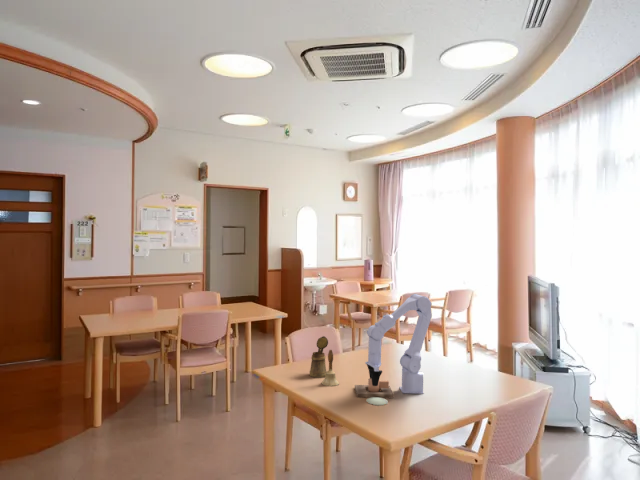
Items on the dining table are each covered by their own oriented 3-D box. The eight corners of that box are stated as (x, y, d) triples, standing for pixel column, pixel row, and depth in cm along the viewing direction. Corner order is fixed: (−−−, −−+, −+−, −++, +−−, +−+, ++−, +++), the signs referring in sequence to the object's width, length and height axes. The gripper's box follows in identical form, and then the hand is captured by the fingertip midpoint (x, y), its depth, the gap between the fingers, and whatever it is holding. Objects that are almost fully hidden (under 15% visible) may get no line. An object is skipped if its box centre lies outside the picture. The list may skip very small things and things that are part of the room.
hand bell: (324, 386, 209) (325, 352, 209) (319, 381, 217) (320, 348, 217) (341, 385, 211) (342, 351, 211) (336, 380, 219) (336, 347, 219)
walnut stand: (389, 388, 208) (389, 385, 208) (393, 397, 196) (393, 394, 196) (354, 388, 208) (354, 384, 208) (357, 397, 196) (357, 393, 196)
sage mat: (385, 398, 196) (385, 397, 196) (389, 405, 187) (389, 405, 187) (365, 397, 195) (365, 396, 195) (367, 405, 186) (367, 404, 186)
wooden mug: (331, 371, 234) (332, 336, 234) (324, 378, 221) (325, 342, 221) (315, 369, 236) (316, 335, 237) (306, 376, 223) (307, 340, 224)
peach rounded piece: (368, 394, 199) (369, 381, 199) (367, 391, 204) (367, 377, 204) (389, 395, 200) (389, 381, 200) (387, 391, 205) (387, 378, 205)
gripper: (364, 348, 209) (363, 377, 209) (367, 356, 195) (366, 387, 195) (379, 349, 209) (378, 378, 209) (384, 357, 195) (383, 388, 195)
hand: (373, 383), depth 202 cm, fingers open, 7 cm apart
